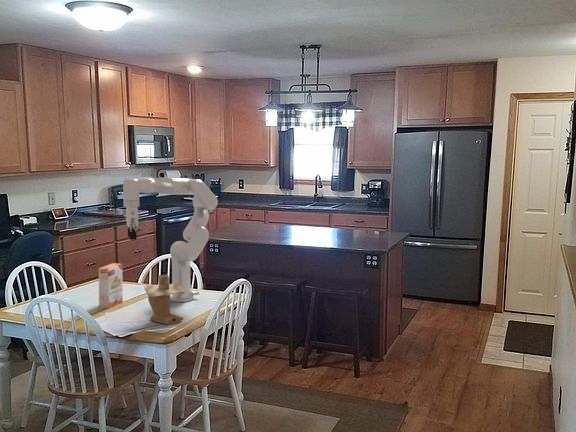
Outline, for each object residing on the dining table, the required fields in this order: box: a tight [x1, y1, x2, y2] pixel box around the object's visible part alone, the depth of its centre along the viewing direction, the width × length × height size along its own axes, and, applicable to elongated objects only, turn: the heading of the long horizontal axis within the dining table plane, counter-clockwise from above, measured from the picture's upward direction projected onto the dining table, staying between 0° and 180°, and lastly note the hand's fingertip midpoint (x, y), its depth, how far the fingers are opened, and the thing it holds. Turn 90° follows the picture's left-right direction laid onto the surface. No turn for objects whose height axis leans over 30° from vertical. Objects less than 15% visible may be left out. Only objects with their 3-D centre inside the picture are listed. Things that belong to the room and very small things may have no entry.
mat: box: [104, 308, 148, 325], centre depth 252 cm, size 18×18×1 cm
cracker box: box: [98, 262, 124, 309], centre depth 270 cm, size 14×6×21 cm, turn 168°
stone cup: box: [147, 295, 184, 325], centre depth 245 cm, size 15×12×15 cm
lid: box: [143, 274, 185, 297], centre depth 244 cm, size 16×16×7 cm
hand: (132, 237), depth 261 cm, fingers open, 9 cm apart
